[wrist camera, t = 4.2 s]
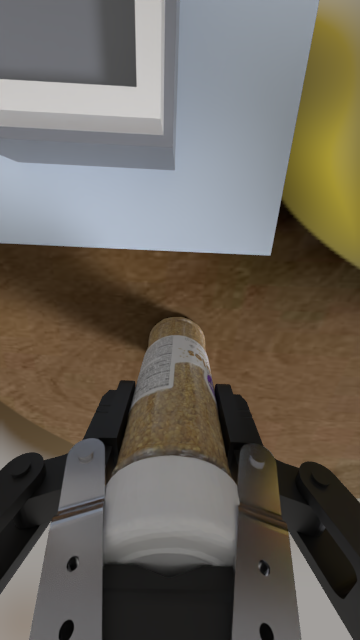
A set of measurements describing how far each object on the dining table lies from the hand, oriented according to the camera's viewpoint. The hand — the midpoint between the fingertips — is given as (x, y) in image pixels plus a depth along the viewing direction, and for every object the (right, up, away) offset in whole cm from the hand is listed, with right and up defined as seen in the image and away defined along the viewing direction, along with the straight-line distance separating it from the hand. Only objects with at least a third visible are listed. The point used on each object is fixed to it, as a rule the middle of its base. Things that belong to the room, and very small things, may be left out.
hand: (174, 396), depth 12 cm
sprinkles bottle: (0, +3, +6) cm, 7 cm away
